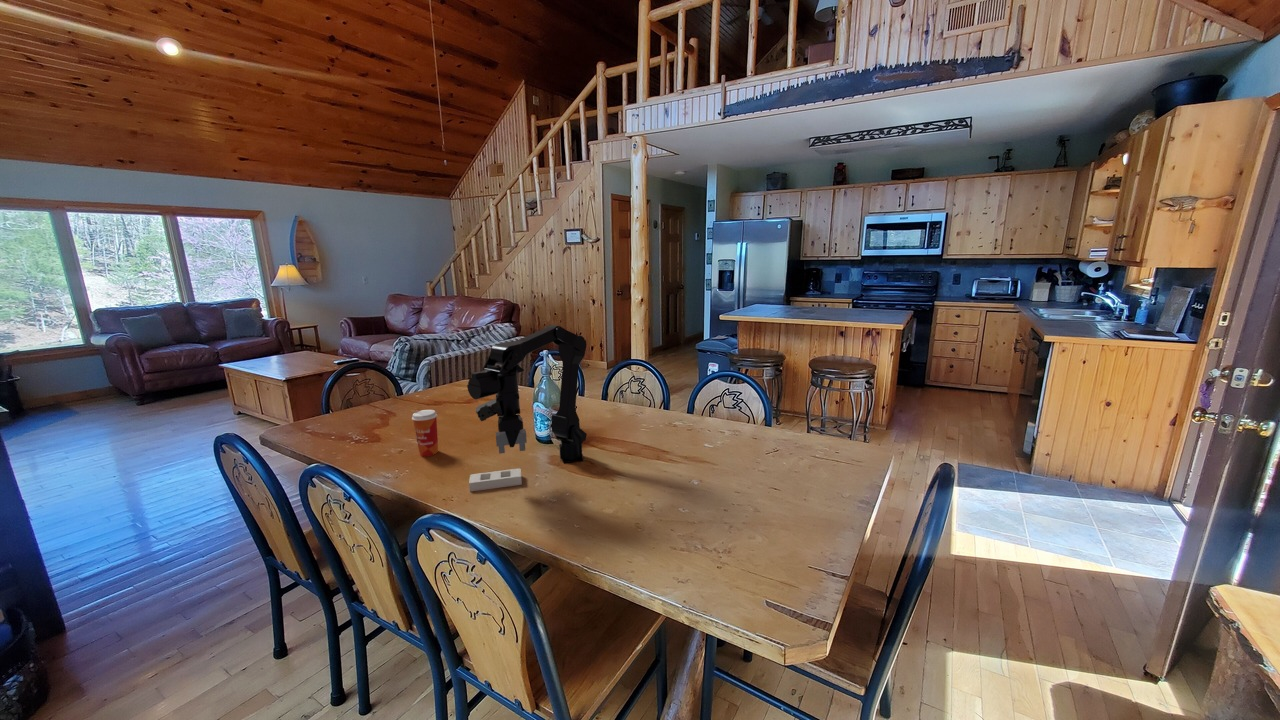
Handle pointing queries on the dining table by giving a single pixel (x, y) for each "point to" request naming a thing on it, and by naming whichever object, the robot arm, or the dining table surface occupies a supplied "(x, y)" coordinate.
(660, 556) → the dining table surface
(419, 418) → the paper cup
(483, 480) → the rail
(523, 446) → the dark grey blocky piece
